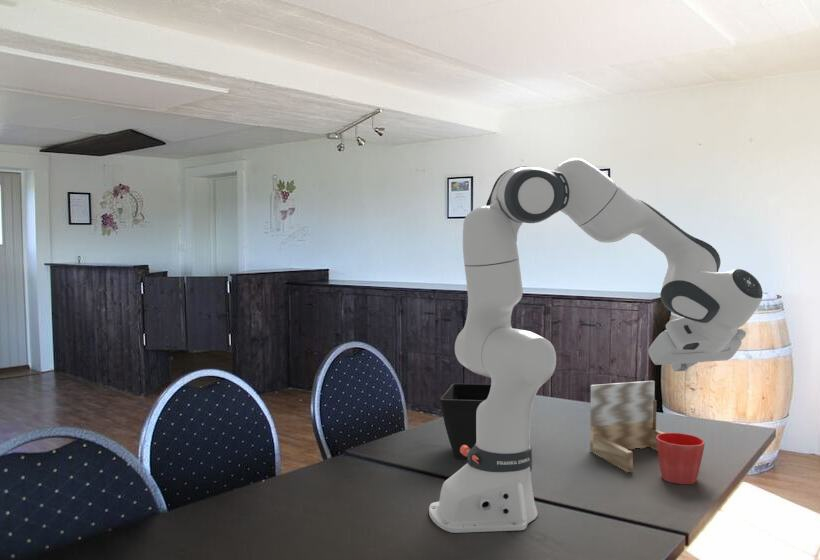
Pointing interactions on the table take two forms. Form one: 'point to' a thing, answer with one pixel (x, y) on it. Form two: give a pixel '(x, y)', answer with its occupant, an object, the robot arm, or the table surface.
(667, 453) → the flower pot
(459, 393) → the flower pot
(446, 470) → the table surface
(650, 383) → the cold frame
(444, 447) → the table surface
